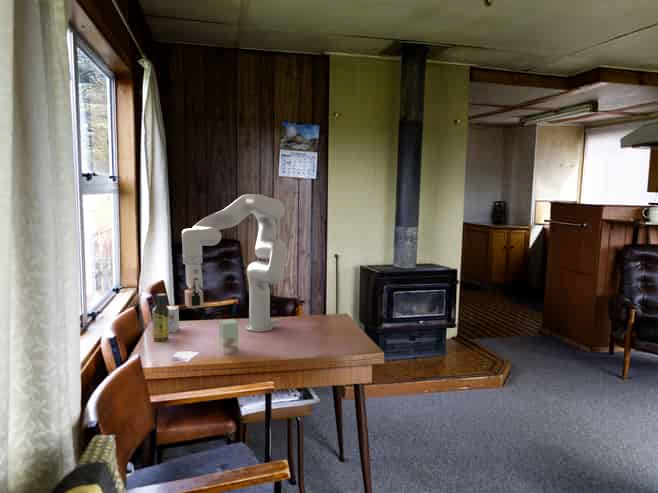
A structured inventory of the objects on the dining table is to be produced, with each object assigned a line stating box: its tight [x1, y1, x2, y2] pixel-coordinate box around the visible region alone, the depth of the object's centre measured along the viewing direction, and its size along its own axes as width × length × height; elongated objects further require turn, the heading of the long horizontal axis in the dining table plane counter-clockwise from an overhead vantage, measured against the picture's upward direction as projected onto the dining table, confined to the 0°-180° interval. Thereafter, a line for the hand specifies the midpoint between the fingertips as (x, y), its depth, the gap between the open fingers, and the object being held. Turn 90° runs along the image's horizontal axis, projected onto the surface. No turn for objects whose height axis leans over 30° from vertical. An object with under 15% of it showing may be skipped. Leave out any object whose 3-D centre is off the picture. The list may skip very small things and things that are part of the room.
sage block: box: [218, 318, 239, 339], centre depth 197 cm, size 6×6×6 cm
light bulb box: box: [151, 305, 180, 333], centre depth 225 cm, size 11×7×11 cm, turn 95°
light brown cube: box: [184, 288, 204, 309], centre depth 199 cm, size 6×6×6 cm
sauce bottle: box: [152, 293, 170, 342], centre depth 210 cm, size 7×6×20 cm
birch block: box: [218, 334, 239, 355], centre depth 198 cm, size 6×6×6 cm
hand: (194, 303), depth 199 cm, fingers closed on light brown cube, 6 cm apart
